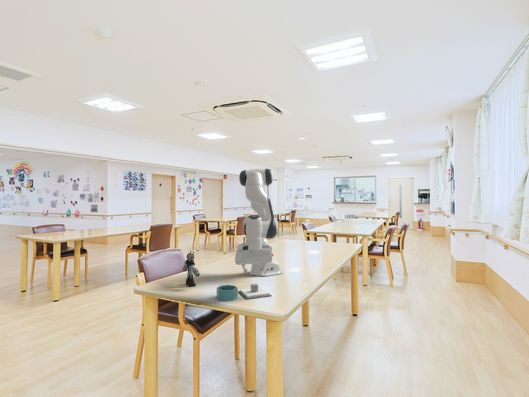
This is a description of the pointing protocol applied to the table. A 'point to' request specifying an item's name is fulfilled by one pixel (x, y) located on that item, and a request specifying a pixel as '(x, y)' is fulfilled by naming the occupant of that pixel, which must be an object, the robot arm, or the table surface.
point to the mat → (253, 297)
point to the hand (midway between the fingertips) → (253, 271)
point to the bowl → (227, 292)
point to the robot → (190, 269)
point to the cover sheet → (256, 294)
